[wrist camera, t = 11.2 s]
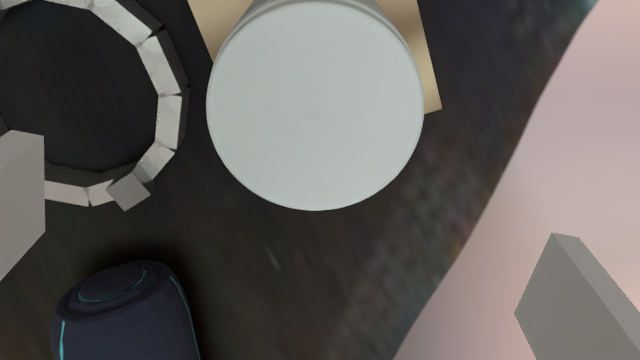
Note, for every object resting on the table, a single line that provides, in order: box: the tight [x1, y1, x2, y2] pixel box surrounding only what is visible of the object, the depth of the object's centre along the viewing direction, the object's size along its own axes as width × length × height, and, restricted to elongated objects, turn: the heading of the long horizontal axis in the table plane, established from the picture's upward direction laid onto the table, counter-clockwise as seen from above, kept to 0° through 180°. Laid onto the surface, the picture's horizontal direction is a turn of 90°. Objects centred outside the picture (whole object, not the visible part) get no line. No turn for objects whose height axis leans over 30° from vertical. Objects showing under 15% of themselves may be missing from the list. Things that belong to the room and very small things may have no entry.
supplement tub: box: [206, 0, 424, 211], centre depth 29 cm, size 10×10×15 cm
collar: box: [0, 0, 190, 211], centre depth 36 cm, size 16×16×4 cm
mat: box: [188, 0, 442, 114], centre depth 36 cm, size 14×14×1 cm
